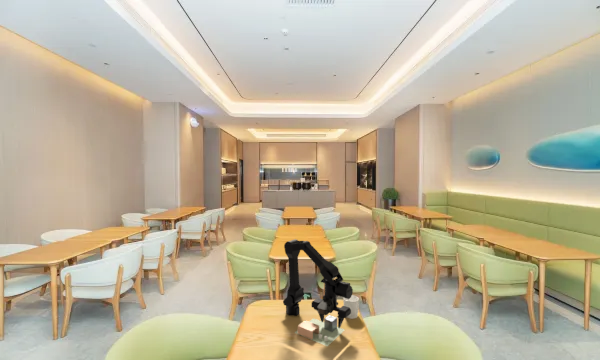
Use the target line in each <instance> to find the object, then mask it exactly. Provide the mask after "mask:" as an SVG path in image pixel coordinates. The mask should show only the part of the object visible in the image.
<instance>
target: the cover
mask: <svg viewBox="0 0 600 360" xmlns="http://www.w3.org/2000/svg"><path fill="white" fill-rule="evenodd" d="M297 330H298V334H297V335H299V334H300V335H299V336H301V335H303V336H305V337H304V338H306V337H308V338H310V339H309V340H311V339H313V332H315V333H317V334H319V325H316V324H314V323H311V322H309V321H308V320H304V321H302V322H300V323H299V324H298V325H297ZM303 336H302V337H303ZM308 338H307V339H308Z"/></svg>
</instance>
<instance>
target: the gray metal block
mask: <svg viewBox="0 0 600 360" xmlns="http://www.w3.org/2000/svg"><path fill="white" fill-rule="evenodd" d="M323 322H324V329H326V330H328V331H331V332H333V331H334V330H335V329H336V328H337V327H338V317H336V316H334V315H330V314H329V315H326V316H325V317H324V321H323Z"/></svg>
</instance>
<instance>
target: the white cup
mask: <svg viewBox="0 0 600 360" xmlns="http://www.w3.org/2000/svg"><path fill="white" fill-rule="evenodd" d="M342 299H343V300H342V301H343V302H342V303H343V306H346V307H349V308H350V309H351V314H350V315H349V316H347V317H346V319H351V320H352V319H357V318H358V315H359V314H358V313H359V306H360V305H359V303H360V302H359V301H360V299H359V297H358V296H357V295H354V294H352V296H351V298H350V299H347V298H344V297H342Z"/></svg>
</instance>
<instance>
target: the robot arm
mask: <svg viewBox="0 0 600 360" xmlns="http://www.w3.org/2000/svg"><path fill="white" fill-rule="evenodd" d="M283 248H284V253H285V255H286V257H287V258H288V274H289V286H288V288H287V291H286V292H287V293H286V294H287V295H286V298H284V300H282V302H283V306H285V313H286V314H287V316H289V317H290V316H292V317H299V315H300V303H301V301H302V299H303V298H304V295H305V293H304V292H305V289H304V287H302V286H301V284H300V275H299V274H300V273H299V255H300V253H301V251H302V252H304V253H305V254H306V256H307V257H308V258H309V259H310V260H311V261H312V263H314V264H315V266H317V268H318V270H319V273H320V274H321V276H322V277H323V278H322V279H321V280H320V283H323V284H324V294H323V295H322V296H323V297H322V298H320V297H316V298H315V299H313V300H312V301H311V308H313V309H314V310H315V311H316V312H317V313H318V317H319V318H320V321H322V322H324V319H325V316H328V314H329V313H330V314H332V313H333V312H334V311H335V312H337V317H336V318H337V327H338V328H341V327H342V324H343V322H344V319H347V316H349V315H350V314H351V309H350V308H349V307H346V306H344V305H342V306H341V307H338V305H339V302H338V299H337V298H338V297H340V298H343V297H344V298H347V299H350V298H351V296H352V295H353V292H354V289H353V286H352V285H351V283H350V282H345V281H344V278H343V276H342V275H341V272H340V271H339V267H337V266H336V265H335V264H334V263H333V262H331V261H329V260H327V259H325V258H324V256H323V255H321V254H320V252H318V250H317V249H316V248H315V247H314V246H313V245H312V244H311V242H310V241H308V240H298V239H296V238H295V239H291V240H289V241H286V242H285V243H284V246H283Z"/></svg>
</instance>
